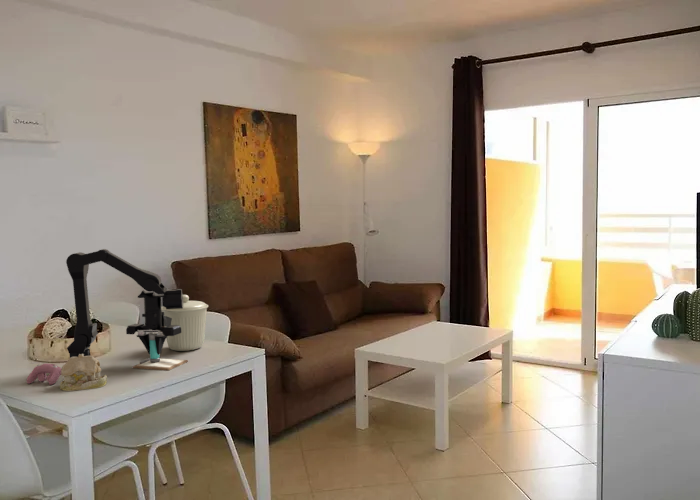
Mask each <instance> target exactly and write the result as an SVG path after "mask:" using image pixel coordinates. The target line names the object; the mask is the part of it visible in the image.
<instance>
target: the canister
mask: <svg viewBox="0 0 700 500" xmlns="http://www.w3.org/2000/svg"><path fill="white" fill-rule="evenodd" d="M189 299H190V297H189V295H187V294H183V300H184V304H183V309H166V307H163V306H161V310H162V312H164V316H167V317H170V318H172V320H171V325H179V326H180V327H181V333H180V334H177V335H174V336H167V338H166V339H165V340H166V345H167V346H168V348H169V349H170V350H171V351H177V352H187V351H193V350H194V351H195V350H197V349H200V348H202V346H203V345H204V342H205V335H206V325H207V324H206V323H207V311H208V308H209V304H207V303H205V302H204V301H199V300H189ZM163 327H166V326H163Z"/></svg>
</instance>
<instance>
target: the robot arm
mask: <svg viewBox="0 0 700 500" xmlns="http://www.w3.org/2000/svg"><path fill="white" fill-rule="evenodd" d="M100 262H102V263H104V264H105V265H107V266H109V267H110V268H113V269H115V270H116V271H118V272H120V273H122V274H124V275H126V276H127V277H129V278H131V279H132V280H134V282H135V283H137V285H138V286H139V287H141V289H143V290H142V291H141V292H140V294H138V295H137V298H138V299H143V310H144V311H143V313H142V314H141V317H142V318H144V323H133V324H130V325H127V327H126V328H125V334H126V335H135V334H136V333H137V335H136V338H138V339H139V340H140V342H141V343H142V344H143V346H144V348H145V350H146V351H147V353H148V354H149V355H150V342H149V334H151V333H158V336H155V342H156V349H157V353H158V355H159V354H160V355H161V353H162V350H163V347H164V344H165V342H166V340H167V339H166V338H167V336H174V335H177V334H180V333H181V327H180V326H179V325H171V320H172V318H170V317H167V316H164V312H162V310H161V307H166V309H183V304H184V300H183V295H184V294H183V289H181V288H178V289H167V288H166V287H165V285H164V284H163V283H162V278H161V277H160V275H159V274H158V273H154V272H152V271H149V270H146V269H142V268H139V267H137V266H136V265H134V264H132V263H130V262H128V261H127V260H125V259H123V258H121V257H120V256H118V255H116V254H114V253H112V252H111V251H110V250H108V249H106V248H102V249H99V250H96V251H93V252H88V253H84V252H80V251H79V252H76V253H75V252H74V253H72V254H70V255H69V256H68V257H67V259H66V261H65V263H66V266H67V270H68V273H69V275H70V277H71V280H72V285H73V297H74V307H75V317H76V323H75V326H74V327H75V328H74V334H73V341H72V342H71V343H70V344H69V345H68V346H67V347H66V349H67V352H68V353H69V358H71V357H78V356H79V354H84V356H91V352H90V351H91V350H90V348H91V345H92V344H93V343H94V342H95V340H96V338H97V336H98V335H99V332H98V331H97V327H98V323H97V322H95V323H93V322H92V319H91V315H90V304H89V303H90V302H89V292H88V291H89V289H88V281H87V278H88V274H89V269H90V267H89V265H92V264H96V263H100ZM164 326H166V327H164Z"/></svg>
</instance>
